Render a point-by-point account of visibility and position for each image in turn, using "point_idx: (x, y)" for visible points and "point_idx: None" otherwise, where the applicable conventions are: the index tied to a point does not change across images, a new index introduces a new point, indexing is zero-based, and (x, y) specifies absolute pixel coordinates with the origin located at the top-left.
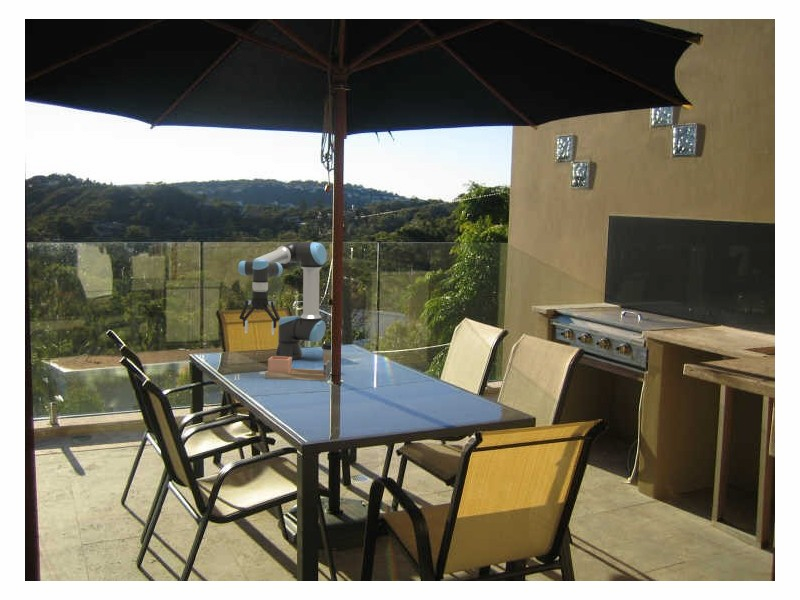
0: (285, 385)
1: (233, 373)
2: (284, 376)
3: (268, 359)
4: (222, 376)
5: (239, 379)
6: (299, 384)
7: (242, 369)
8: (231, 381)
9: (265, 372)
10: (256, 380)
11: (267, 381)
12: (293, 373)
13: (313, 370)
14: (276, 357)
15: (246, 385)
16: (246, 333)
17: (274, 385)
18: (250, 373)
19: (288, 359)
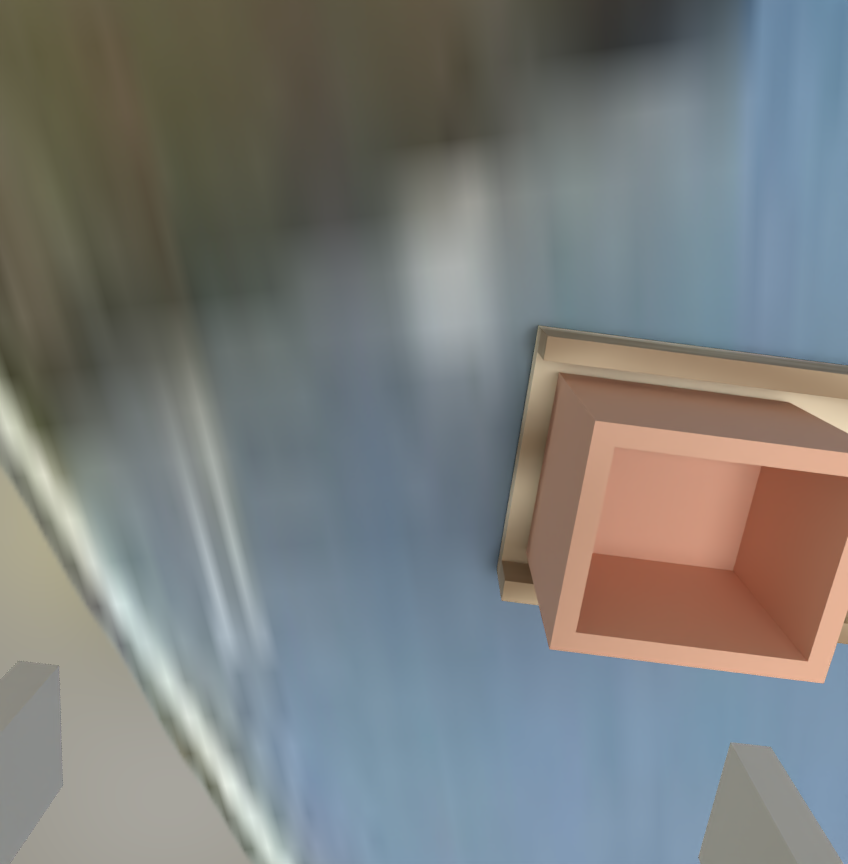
0: (700, 825)
1: (133, 368)
2: None
3: (555, 647)
4: (69, 526)
5: (264, 638)
6: (826, 783)
7: (173, 115)
8: (213, 720)
9: (506, 599)
10: (428, 665)
11: (534, 696)
12: None
13: None
14: (657, 448)
15: (372, 845)
16: (58, 784)
17: (606, 831)
18: (313, 348)
19: (830, 646)
